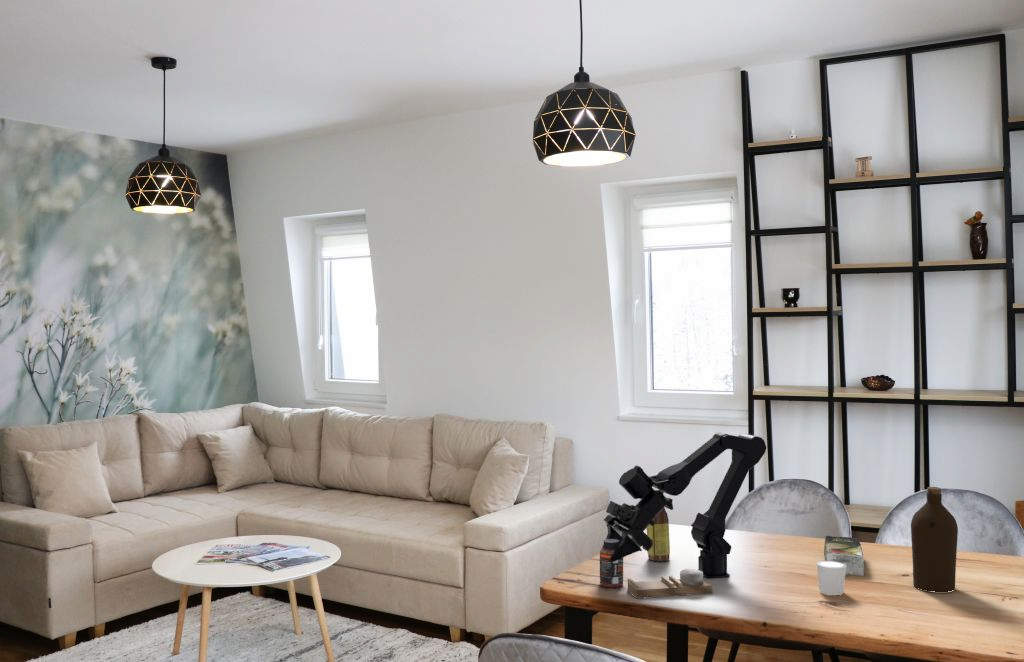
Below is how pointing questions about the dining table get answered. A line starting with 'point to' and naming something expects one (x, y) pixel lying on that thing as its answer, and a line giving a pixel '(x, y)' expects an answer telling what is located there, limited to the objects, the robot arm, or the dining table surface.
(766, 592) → the dining table surface
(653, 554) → the sauce bottle
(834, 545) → the juice carton
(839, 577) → the white cup
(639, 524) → the robot arm
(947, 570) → the olive oil
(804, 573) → the dining table surface
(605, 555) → the supplement bottle
